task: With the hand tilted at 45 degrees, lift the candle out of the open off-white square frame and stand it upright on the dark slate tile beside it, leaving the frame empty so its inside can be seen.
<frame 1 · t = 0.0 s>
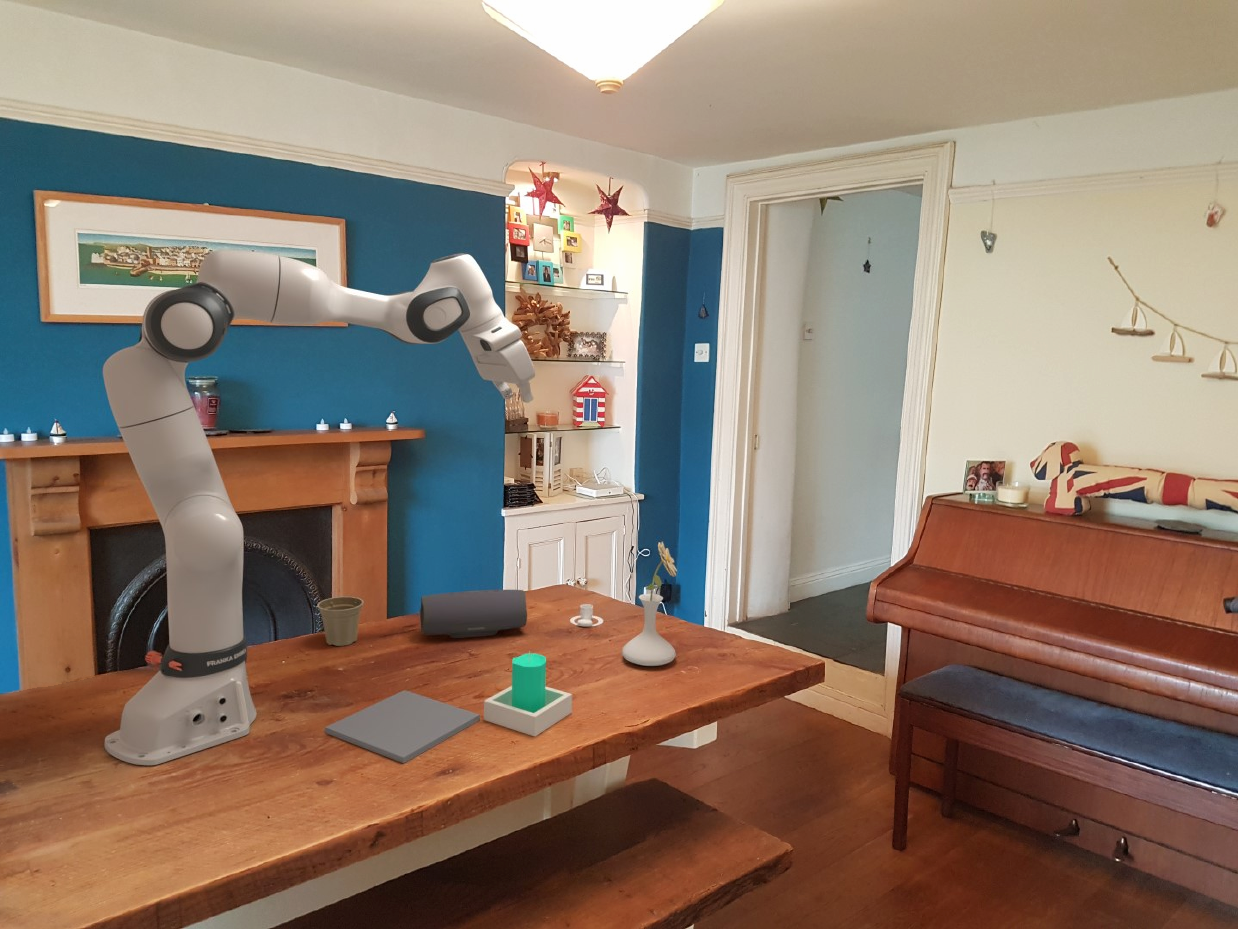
hand: (519, 399, 159), 54 cm above the table, tool tilted 30°, fingers open, 8 cm apart
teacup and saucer: (574, 625, 194), on the table
candle: (528, 717, 144), resting in square frame
bluetooth speaker: (473, 635, 184), on the table
slate tile: (404, 726, 139), on the table
flower in vase: (650, 660, 173), on the table
flower pot: (341, 642, 177), on the table
square frame: (528, 716, 144), on the table
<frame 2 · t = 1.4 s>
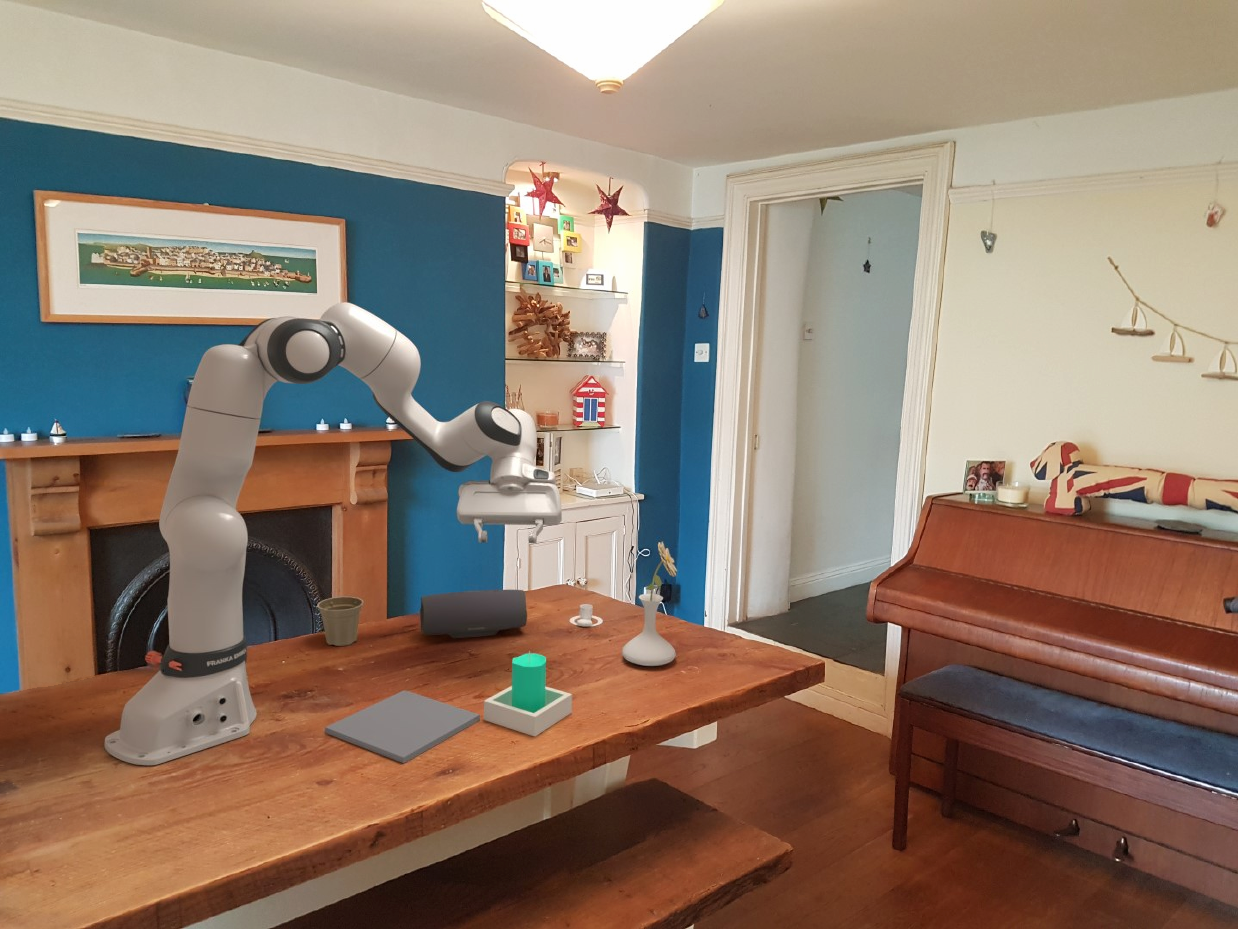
hand: (507, 541, 155), 28 cm above the table, tool tilted 45°, fingers open, 8 cm apart
nothing on the table moved.
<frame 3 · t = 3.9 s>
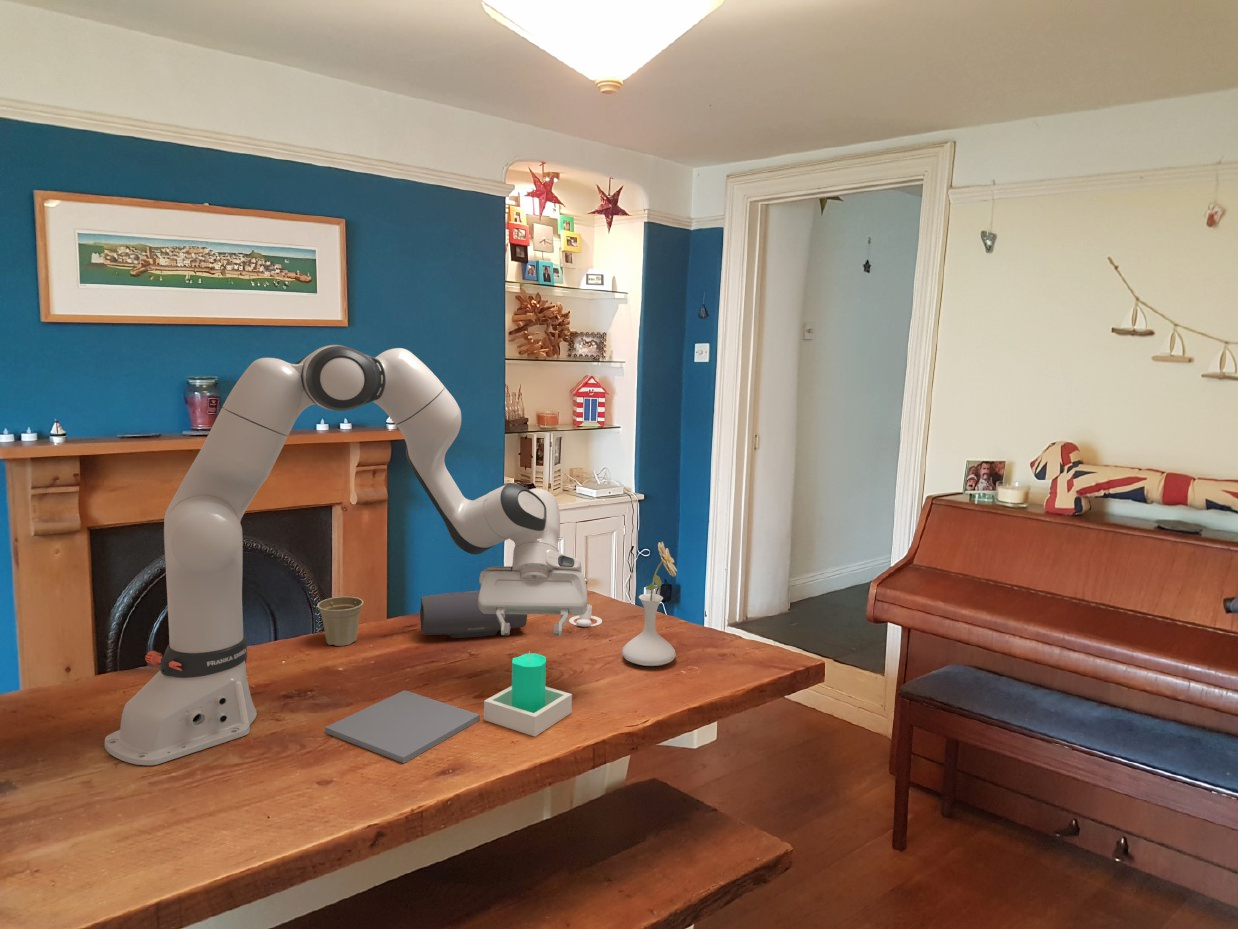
hand: (531, 634, 148), 13 cm above the table, tool tilted 45°, fingers open, 8 cm apart
nothing on the table moved.
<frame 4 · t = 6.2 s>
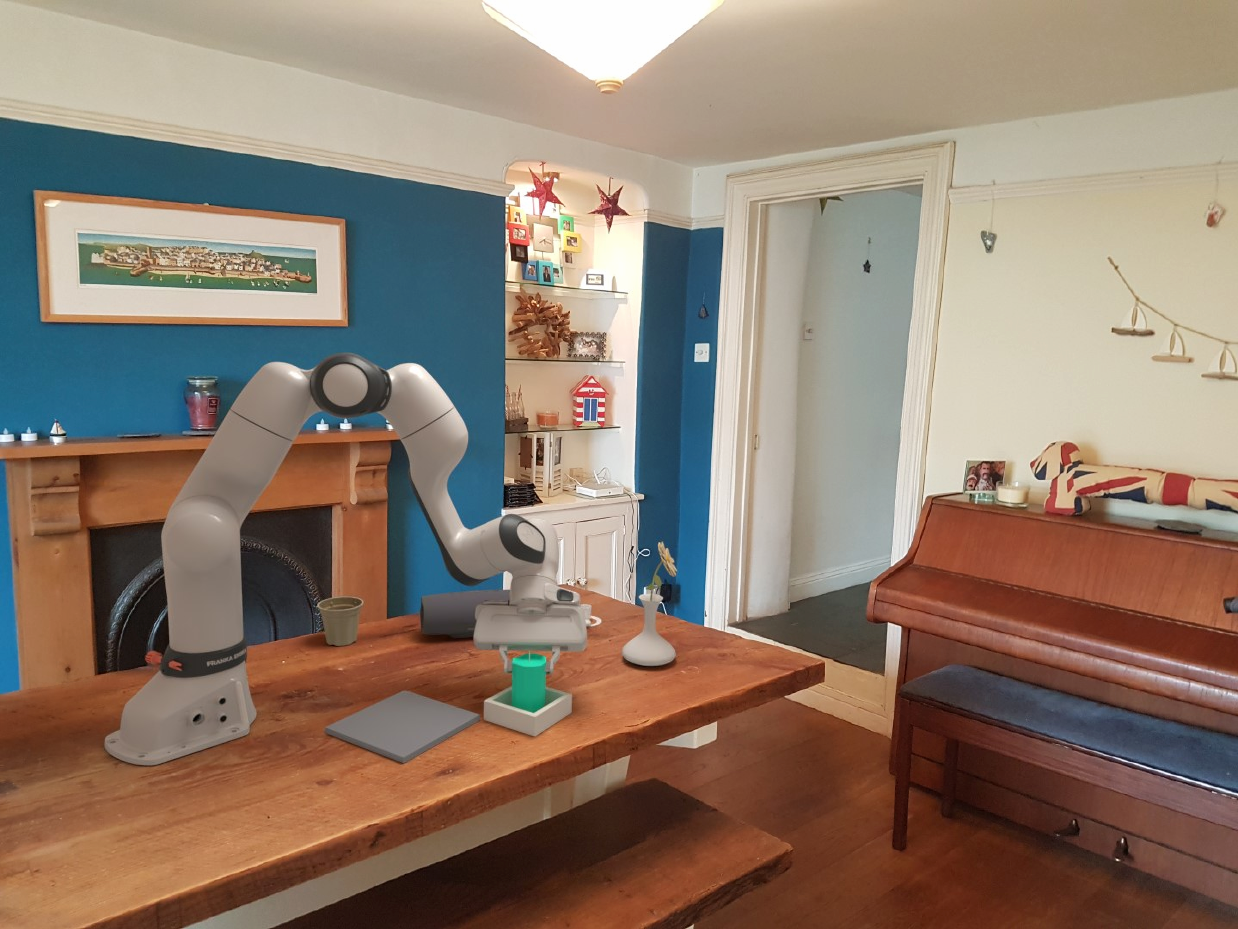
hand: (528, 672, 142), 8 cm above the table, tool tilted 45°, fingers closed on candle, 6 cm apart
candle: (528, 717, 144), resting in square frame, touching gripper
everything else where it was.
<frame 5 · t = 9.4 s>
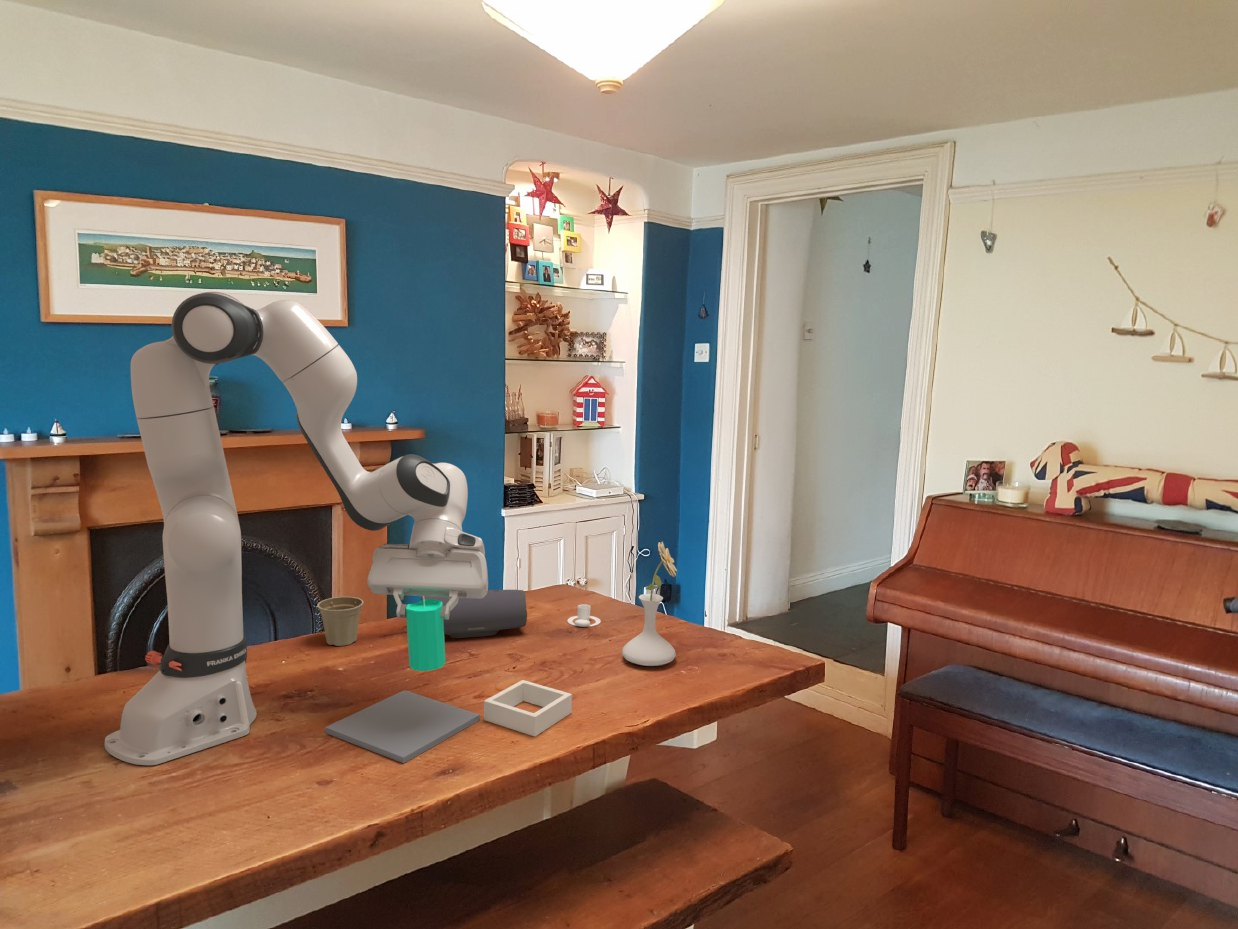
hand: (422, 617, 136), 19 cm above the table, tool tilted 45°, fingers closed on candle, 6 cm apart
candle: (427, 665, 138), point 11 cm above the table, touching gripper
everything else where it was.
when the fingers open (11 cm above the table, at t = 12.6 s): candle stays where it is, resting on slate tile.
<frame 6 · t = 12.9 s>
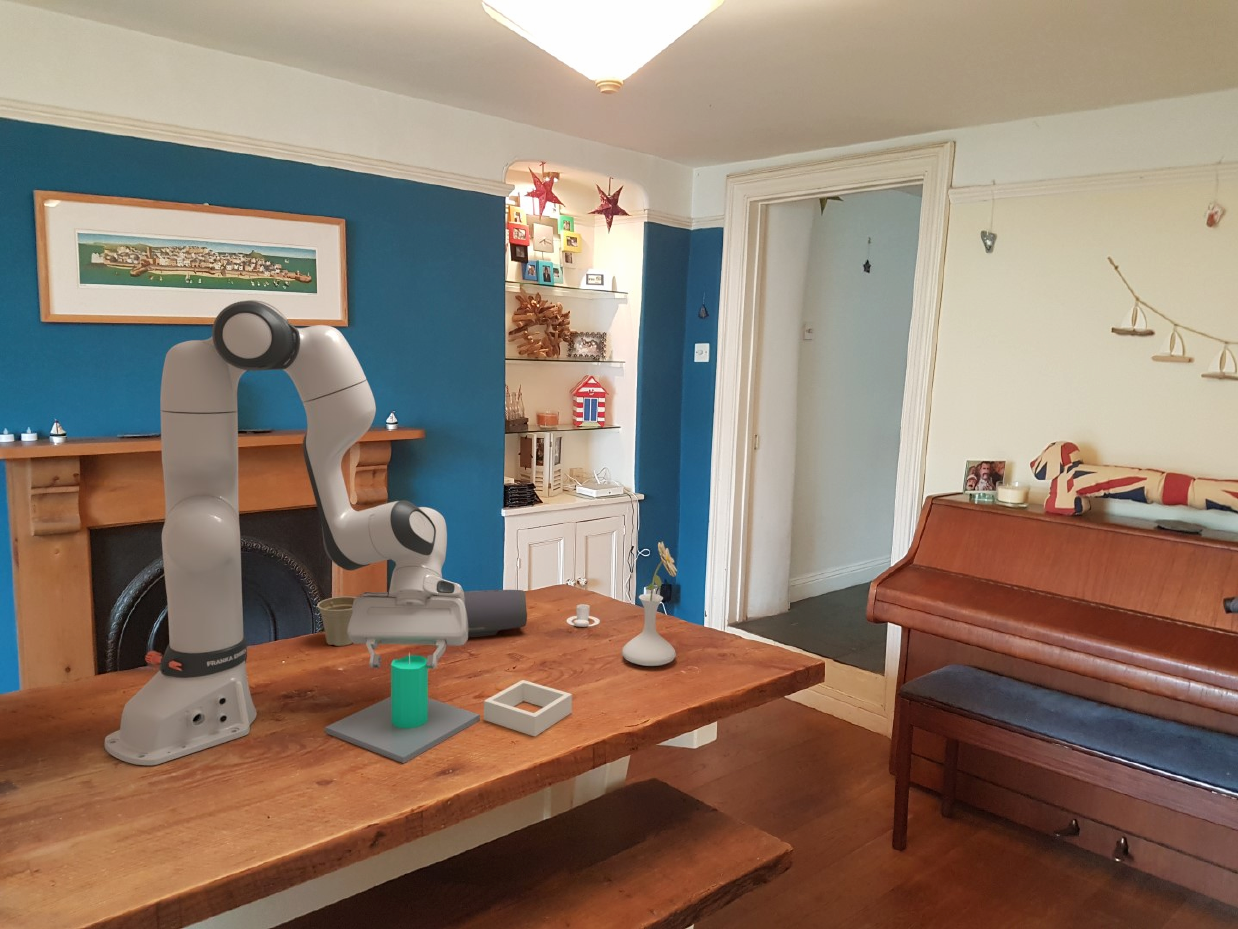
hand: (402, 667, 137), 11 cm above the table, tool tilted 45°, fingers open, 8 cm apart
candle: (409, 721, 139), point 1 cm above the table, touching slate tile
everything else where it was.
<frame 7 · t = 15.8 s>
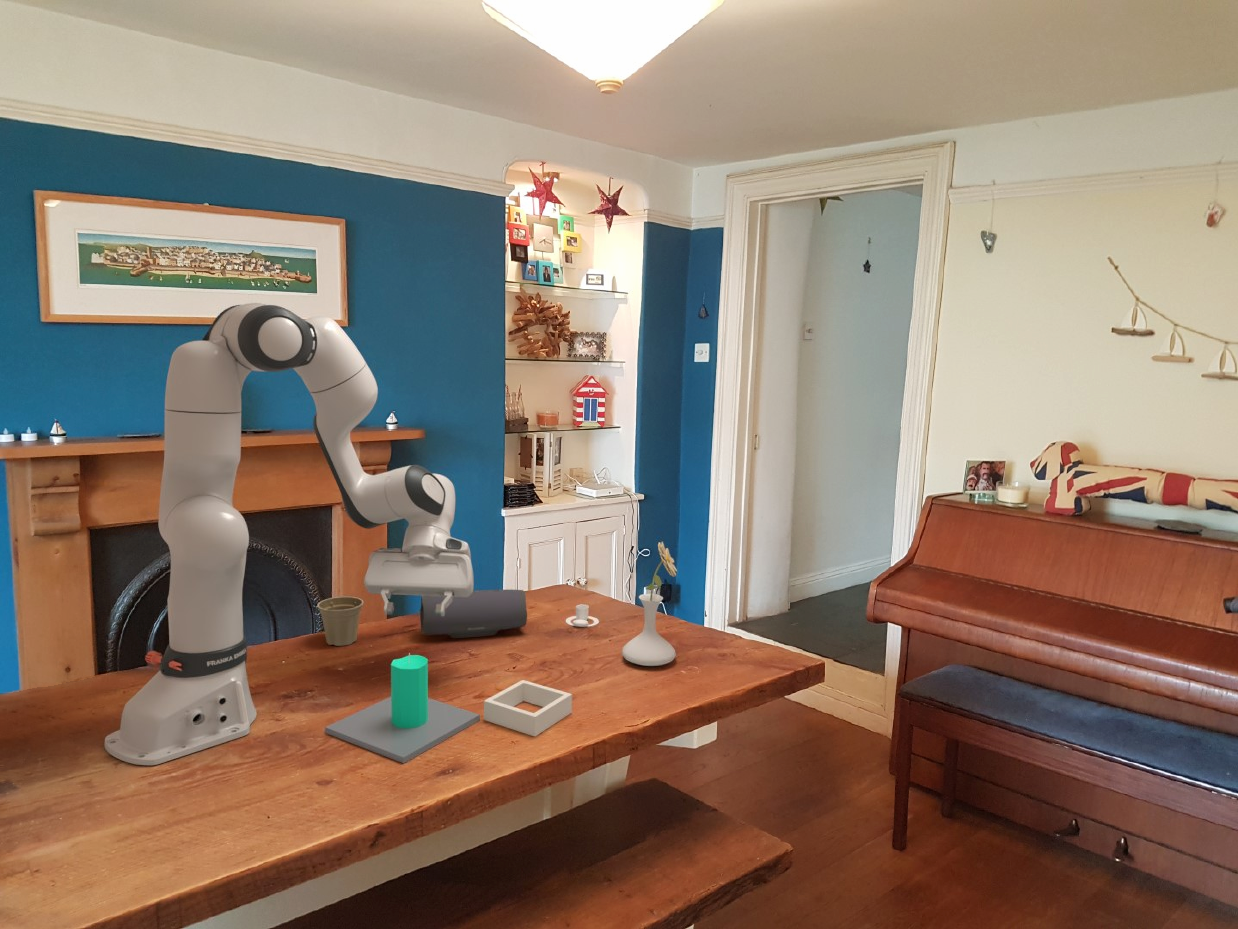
hand: (413, 614, 151), 15 cm above the table, tool tilted 45°, fingers open, 8 cm apart
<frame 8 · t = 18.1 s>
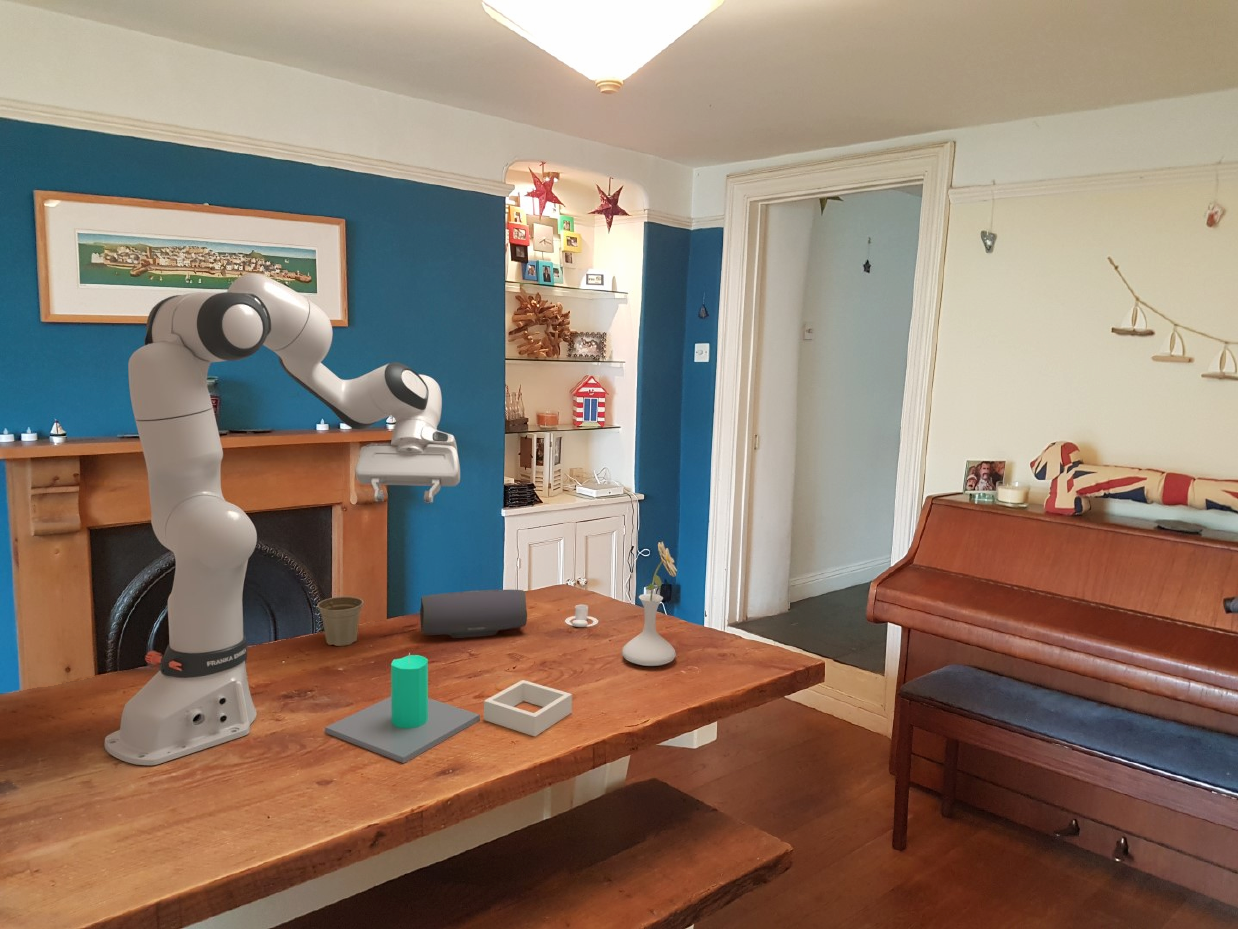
hand: (403, 500, 158), 34 cm above the table, tool tilted 45°, fingers open, 8 cm apart
at the end: candle inside the target area on the slate tile (1.0 cm from its centre), point 0.8 cm above the slate tile's base; candle tilted 0°; the gripper is holding nothing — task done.
